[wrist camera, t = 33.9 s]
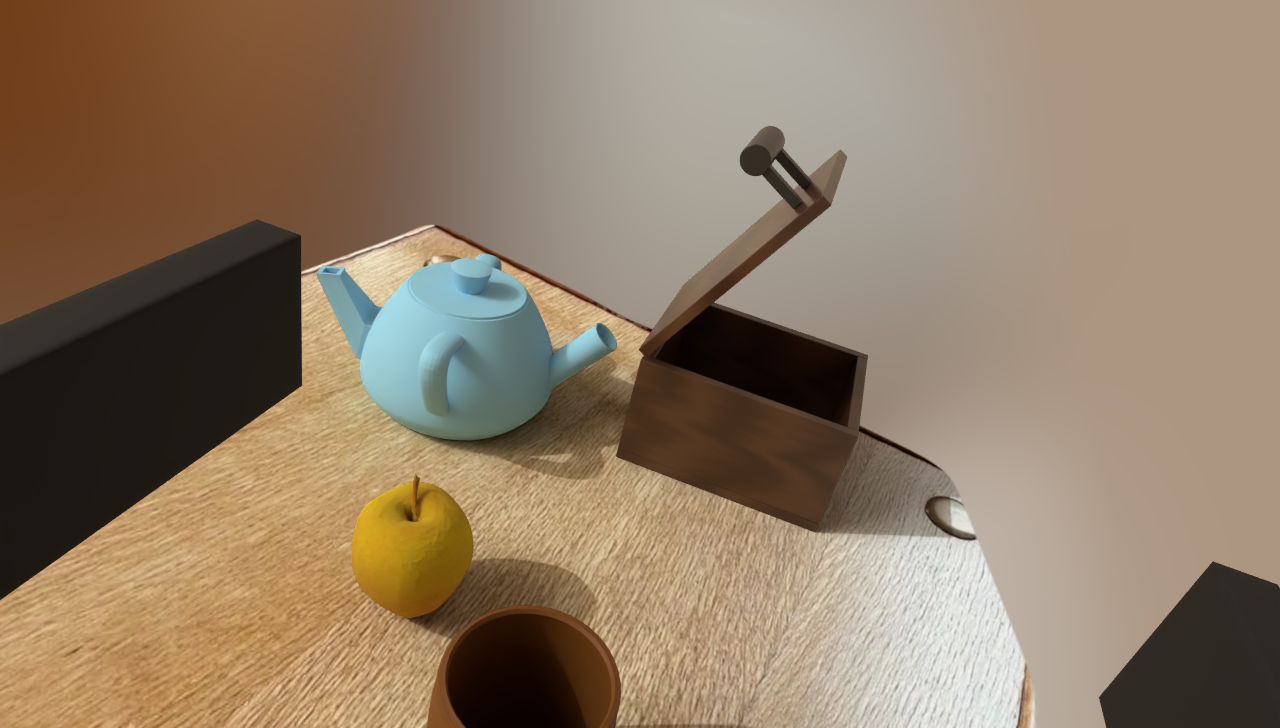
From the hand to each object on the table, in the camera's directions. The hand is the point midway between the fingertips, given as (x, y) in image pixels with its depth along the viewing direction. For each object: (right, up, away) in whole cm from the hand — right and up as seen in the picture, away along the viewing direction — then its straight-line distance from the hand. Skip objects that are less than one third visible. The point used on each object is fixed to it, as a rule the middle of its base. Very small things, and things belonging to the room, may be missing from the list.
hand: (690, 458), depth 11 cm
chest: (+7, -5, +52) cm, 53 cm away
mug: (-5, -20, +24) cm, 32 cm away
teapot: (-15, -1, +51) cm, 53 cm away
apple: (-14, -12, +33) cm, 38 cm away
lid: (+7, +9, +45) cm, 46 cm away
